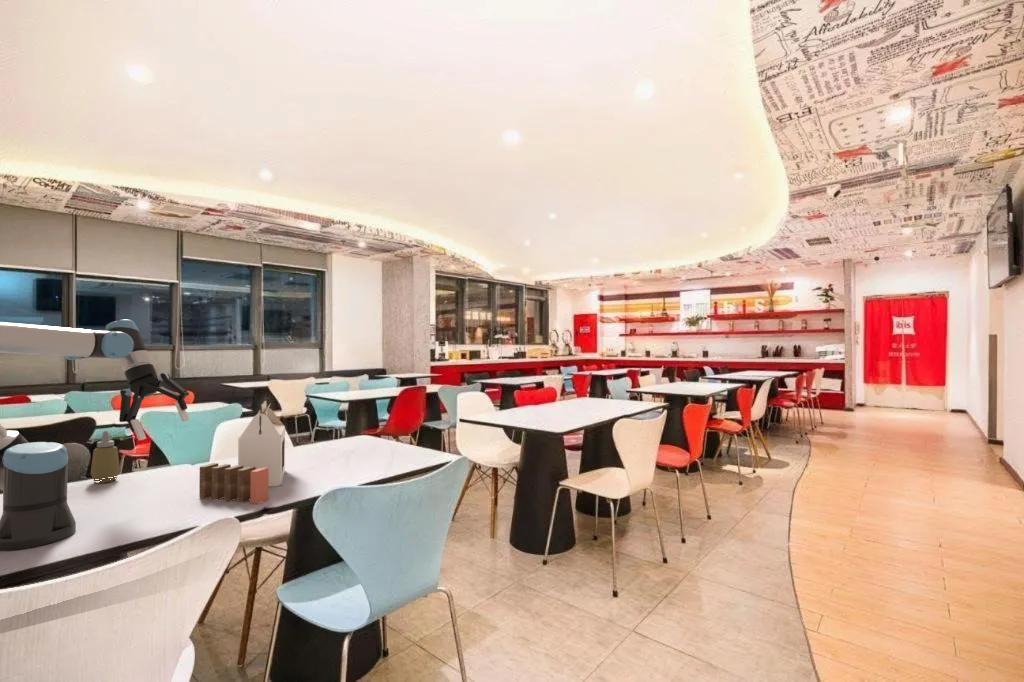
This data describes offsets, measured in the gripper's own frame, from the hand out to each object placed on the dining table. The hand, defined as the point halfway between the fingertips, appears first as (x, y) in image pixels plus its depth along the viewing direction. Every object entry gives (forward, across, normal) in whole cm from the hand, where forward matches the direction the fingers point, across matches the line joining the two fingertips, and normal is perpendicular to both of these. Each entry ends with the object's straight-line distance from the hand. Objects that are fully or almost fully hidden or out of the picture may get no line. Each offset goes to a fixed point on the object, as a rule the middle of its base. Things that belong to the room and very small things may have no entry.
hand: (164, 430), depth 151 cm
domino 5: (+32, -17, -1) cm, 37 cm away
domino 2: (+26, -5, -6) cm, 27 cm away
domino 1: (+24, 0, -8) cm, 26 cm away
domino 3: (+28, -9, -4) cm, 30 cm away
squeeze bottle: (+4, +40, -28) cm, 49 cm away
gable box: (+27, -10, -26) cm, 39 cm away
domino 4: (+30, -13, -2) cm, 33 cm away
